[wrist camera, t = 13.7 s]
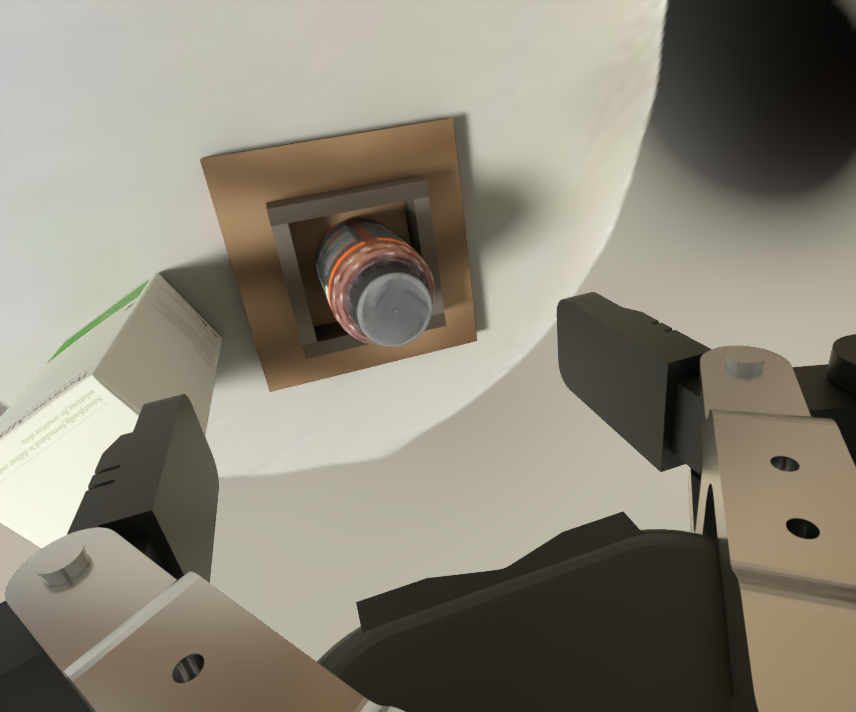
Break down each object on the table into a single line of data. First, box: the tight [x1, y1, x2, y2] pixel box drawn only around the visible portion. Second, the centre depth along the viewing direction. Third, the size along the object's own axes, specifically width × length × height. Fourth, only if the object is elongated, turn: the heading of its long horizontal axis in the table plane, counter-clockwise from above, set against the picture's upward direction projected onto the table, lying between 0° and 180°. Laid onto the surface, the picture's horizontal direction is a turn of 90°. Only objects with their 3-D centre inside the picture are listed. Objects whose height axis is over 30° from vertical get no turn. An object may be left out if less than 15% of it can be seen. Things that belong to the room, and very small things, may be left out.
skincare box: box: [0, 274, 222, 548], centre depth 30 cm, size 8×7×16 cm
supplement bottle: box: [316, 218, 435, 347], centre depth 32 cm, size 6×6×11 cm
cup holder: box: [200, 118, 477, 392], centre depth 37 cm, size 16×16×4 cm
